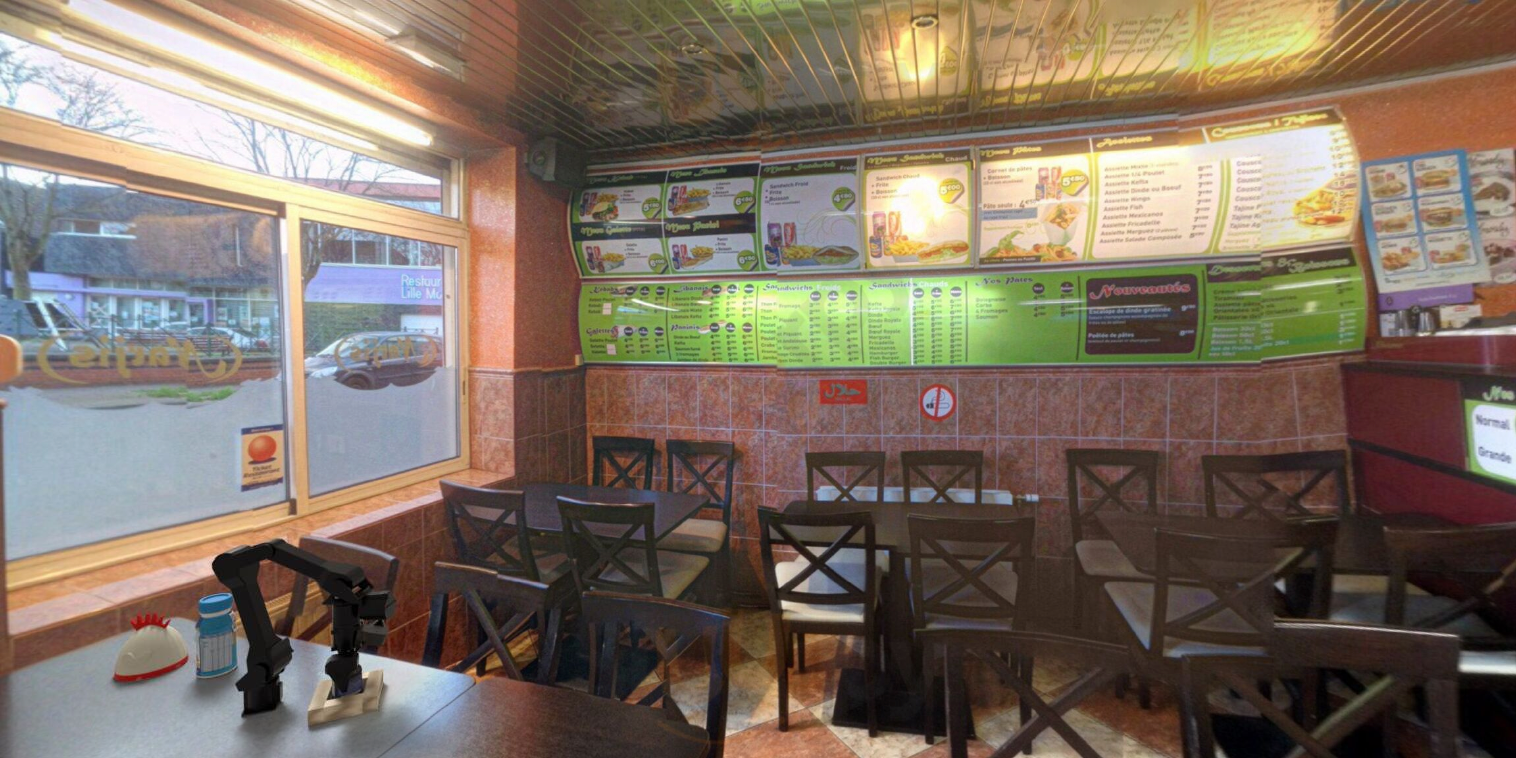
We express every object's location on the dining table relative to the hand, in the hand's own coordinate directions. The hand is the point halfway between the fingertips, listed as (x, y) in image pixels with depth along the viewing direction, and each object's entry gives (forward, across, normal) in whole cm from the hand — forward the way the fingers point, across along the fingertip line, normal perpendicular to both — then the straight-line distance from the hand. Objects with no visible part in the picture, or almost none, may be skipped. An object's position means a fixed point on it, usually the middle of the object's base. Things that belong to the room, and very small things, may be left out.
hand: (347, 682), depth 144 cm
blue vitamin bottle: (+5, +32, +33) cm, 46 cm away
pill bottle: (+5, 0, 0) cm, 5 cm away
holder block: (+5, 0, 0) cm, 5 cm away
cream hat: (+5, +42, +49) cm, 65 cm away
